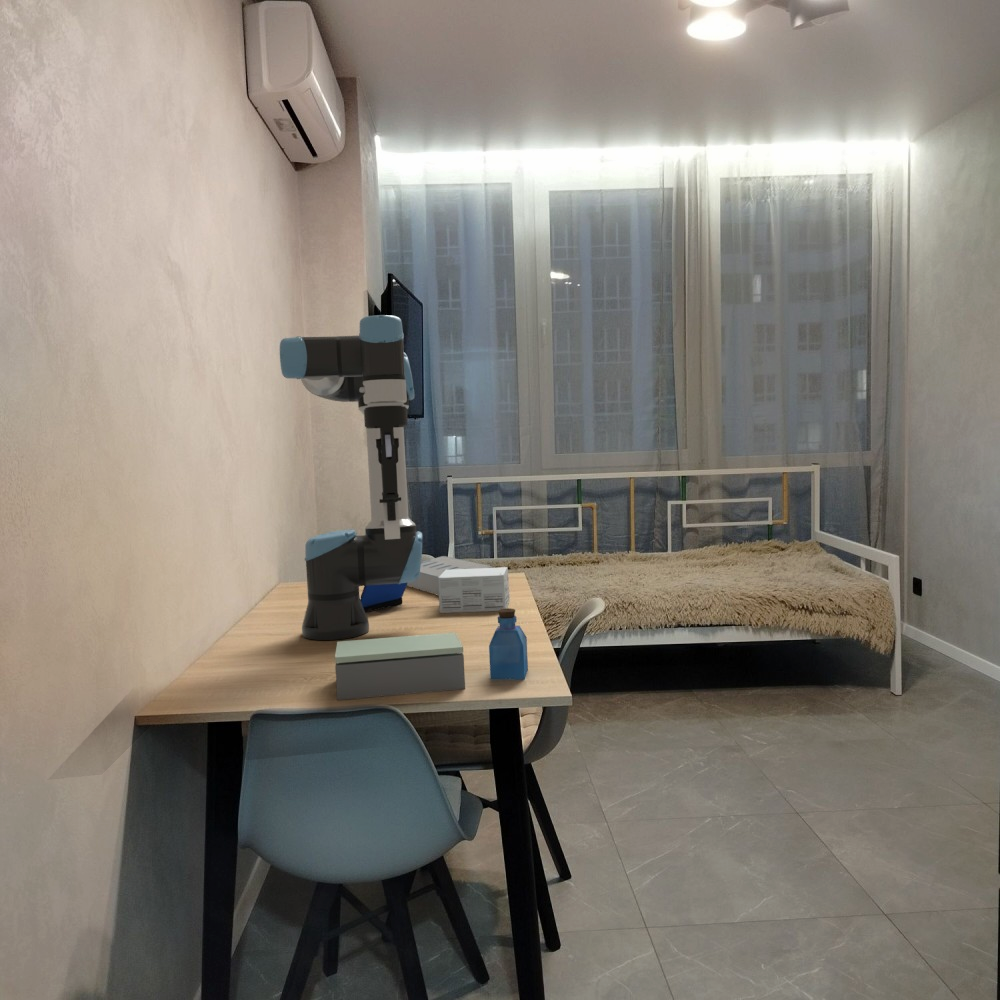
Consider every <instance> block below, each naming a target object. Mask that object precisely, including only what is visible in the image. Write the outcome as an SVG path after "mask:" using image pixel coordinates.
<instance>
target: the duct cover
mask: <svg viewBox="0 0 1000 1000" xmlns="http://www.w3.org/2000/svg"><path fill="white" fill-rule="evenodd" d="M459 638H460V637H458V634H457V632H455V631H453V632H445V633H444V632H443V633H441V632H440V633H430V634H418V635H407V636H405V635H403V636H393V637H379V638H367V639H357V640H356V639H353V640H343V641H341V640H340V641H337V642H336V649H335V654H334V664H336V663H345V662H357V661H369V660H381V659H393V658H405V657H417V656H429V655H441V654H453V653H463V654H464V646H463V644H462V642H461V640H460V639H459Z"/></svg>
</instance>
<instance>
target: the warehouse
mask: <svg viewBox="0 0 1000 1000" xmlns="http://www.w3.org/2000/svg"><path fill="white" fill-rule="evenodd" d="M476 568H494V566H493V565H489V564H484V563H479V562H475V561H469V560H467V559H466V560H465V559H460V558H455V557H452V556H446V555H441V556H438V557H435V558H431V559H428V560H424V561H421V568H420V574H419V577H418V579H417V580H416V581H414V582H408V583H407V586H406V587H409V588H412V587H413V589H417V590H419V589H420V591H423V592H426V591H427V593H429V592H430V594H433V593H434V594H433V595H436V594H437V596H439V589H438V577H439V576H440V575H441V574H442V573H443V572H444V571H445V570H451V569H476Z"/></svg>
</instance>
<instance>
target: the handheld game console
mask: <svg viewBox="0 0 1000 1000" xmlns="http://www.w3.org/2000/svg"><path fill="white" fill-rule="evenodd" d="M407 587H408V586H407V583H401V584H383V585H368V586H363V589H362V592H361V595H360V600H361V603H362V605H363V608H364V611H365V613H366V614H367V613H371V612H375V611H378V610H380V609H387V608H390V607H395V606H399V605H401V604H403V596H404V593H405V591H406V588H407Z"/></svg>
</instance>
